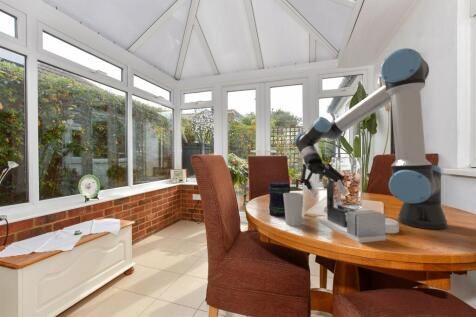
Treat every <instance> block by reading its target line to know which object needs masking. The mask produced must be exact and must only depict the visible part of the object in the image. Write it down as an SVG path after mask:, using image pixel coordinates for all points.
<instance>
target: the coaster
mask: <svg viewBox="0 0 476 317" xmlns="http://www.w3.org/2000/svg"><path fill="white" fill-rule="evenodd" d="M399 232H400V222H399V221H398V220H396V219H392V218H388V217H385V234H389V235H390V234H399Z"/></svg>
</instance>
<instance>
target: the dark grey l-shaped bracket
mask: <svg viewBox="0 0 476 317" xmlns="http://www.w3.org/2000/svg"><path fill="white" fill-rule="evenodd" d="M334 183H335V181H334V180H332V179H331V180H330V179H329V180H326V206H325V207H324V208H323V212H324V214H327V206H332V207H335V206H334V202H335V199H334V198H335V197H334V196H335V195H334V194H335V193H334V191H335V190H334V189H335V188H334V186H335V185H334ZM345 221H346V222H347V213H345Z"/></svg>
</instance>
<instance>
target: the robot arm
mask: <svg viewBox="0 0 476 317" xmlns="http://www.w3.org/2000/svg"><path fill="white" fill-rule="evenodd" d="M379 72H380V76H381V78H382V80H383V81H384V83H383V85H381V86H380V87H379V88H377V89H376V90H375V91H373V92H372V93H371V94H369V95H368V96H366V97H365V98H364V99H362V100H361V101H359V102H358V103H356V104H355V105H354V106H352V107H351V108H349V109H347V111H345V112H344V113H342V114H341V115H339V116H338V117H336V118H335V119H334V120H332V121H331V122H330V121H329V120H328V119H327V118H326V117H324V116H319V117H318V118H317V119H316V120H315V121H313V123H312V124H310V126H309V128H307V129H306V131H301V132H299V133H297V134H296V135H295V136H294V142H295V146H296V147H297V149H298V151H299V154H300V156H301V158H302V160H303V163H302V166H301V167H300V169H301V174H300V175H301V176H300V181H299V182H300V184H303V185H304V186H305V187H307V189H308V190H309V191H310V193H311V195H312V197H313V198H315V197H316V196H317V195H318V192H317V189H316V188H315V185H314V183H313V181H312V180H311V178H312V176H313V174H315V175H323V176H326V177H327V178H329V179H331V181H334V183H335V182H336V183H335V186H337V188H338V190H339V192H340V193H341V195H342V196H344V197H345V196H346V194H347V193H348V190H347V189H346V187H345V184H344V182H343V181H344V180H345V176H344V175H342V173H340V172H339V171H338V170H337V169H335V168H334V167H333V166H332V165H331V164H330V163H329V162H328V163H327V164H324V163H323V160H322V158H321V156H320V154H319V152H318V150H317V149H316V147H315V145H316V144H317V143H318V142H319V141H320V140H321V139H329V140H336V139H339V138H340V137H341V136H342V134H343V133H344V132H345V131H347V130H349V129H350V128H352V127H353V126H355V125H357V124H358V123H360V122H361V121H363V120H365V119H366V118H368V117H369V116H371V115H372V114H374V113H375V112H377V111H379V110H380V109H382V108H383V107H385V106H386V105H389V104H390V103H391V114H392V128H393V140H394V141H393V142H394V152H395V153H394V154H395V155H394V156H395V161H394V162H393V163H392V164H391V165H390V166H391V176H390V179H389V181H388V189H389V191H390V194H392V196H393V197H395V198H396V199H397V200H399V201H400V202H402V205H401V207H400V210H399V213H398V215H397V216H398V217H397V219H398V220H397V222H399V223H401V224H403V225H406V226H411V227H414V228H420V229H426V230H427V229H429V230H444V229H447V228H448V220H447V219H446V215H445V212H444V211H443V208H442V175H443V173H442V170H441V168H440V167H439V166H437V165H433V164H432V162H430V161H429V160H427V158H426V157H427V156H426V146H425V134H424V124H423V123H424V122H423V109H422V108H423V107H422V97H421V96H422V95H421V91H422V90H423V89H424V87H426V81H427V79H428V76H429V74H430V66H429V64H428V63H427V61H426V60H425V59H424V58H423V57H422V55H421V54H420V52H418V51H417V50H415V49H413V48H407V47H406V48H400V49H396V50H394V51H392V52H391V53H389V54H388V55H387V56H386V57H385V58H384V60H383V61H382V63H381V65H380V69H379ZM307 170H309V171H310V172H309V174H308V175H307V177H306V174H307Z"/></svg>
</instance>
